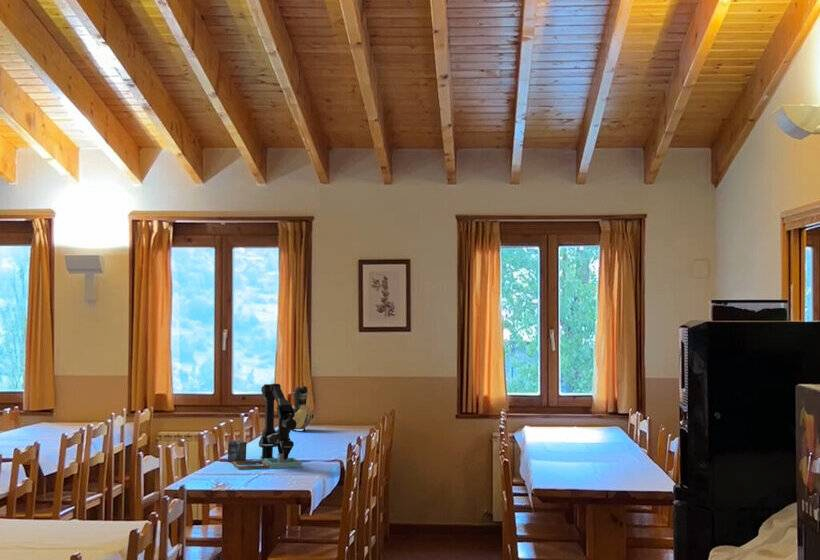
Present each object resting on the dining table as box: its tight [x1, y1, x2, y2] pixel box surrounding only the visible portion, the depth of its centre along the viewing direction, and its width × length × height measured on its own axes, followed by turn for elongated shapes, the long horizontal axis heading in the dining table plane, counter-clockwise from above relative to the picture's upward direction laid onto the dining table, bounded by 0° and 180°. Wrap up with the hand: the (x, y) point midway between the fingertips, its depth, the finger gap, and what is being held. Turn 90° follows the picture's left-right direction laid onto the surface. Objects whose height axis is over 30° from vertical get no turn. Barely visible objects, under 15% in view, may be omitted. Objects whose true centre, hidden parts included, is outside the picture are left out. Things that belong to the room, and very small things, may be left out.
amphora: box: [291, 385, 313, 430], centre depth 590 cm, size 18×17×30 cm
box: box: [227, 440, 247, 463], centre depth 454 cm, size 8×6×11 cm
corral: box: [231, 460, 270, 470], centre depth 441 cm, size 16×16×2 cm
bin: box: [263, 457, 303, 469], centre depth 447 cm, size 16×16×2 cm
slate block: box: [276, 453, 289, 463], centre depth 447 cm, size 4×4×5 cm
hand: (282, 458), depth 447 cm, fingers open, 9 cm apart
